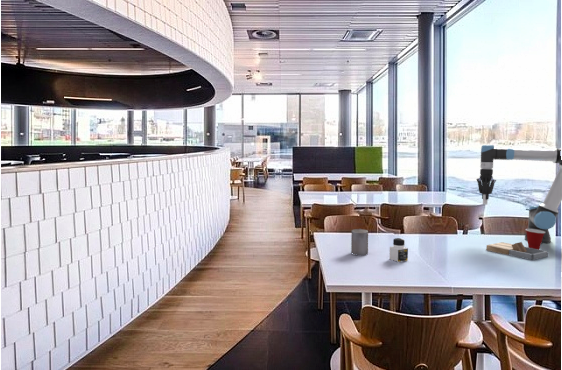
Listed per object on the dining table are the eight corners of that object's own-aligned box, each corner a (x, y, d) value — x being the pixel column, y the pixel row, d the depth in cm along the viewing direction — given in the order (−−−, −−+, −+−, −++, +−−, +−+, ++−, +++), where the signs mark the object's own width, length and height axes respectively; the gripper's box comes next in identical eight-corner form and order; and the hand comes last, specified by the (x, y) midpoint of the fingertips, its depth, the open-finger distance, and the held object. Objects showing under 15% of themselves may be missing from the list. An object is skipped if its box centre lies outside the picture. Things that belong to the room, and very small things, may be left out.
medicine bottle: (398, 262, 245) (398, 240, 244) (389, 259, 252) (389, 238, 251) (407, 260, 249) (408, 239, 248) (398, 257, 255) (399, 236, 254)
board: (502, 246, 282) (502, 242, 282) (524, 251, 270) (524, 246, 270) (486, 250, 274) (486, 245, 273) (508, 254, 262) (508, 249, 262)
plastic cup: (547, 251, 270) (548, 231, 268) (527, 250, 272) (528, 231, 271) (540, 247, 280) (541, 228, 279) (521, 246, 282) (522, 227, 281)
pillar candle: (355, 250, 271) (355, 226, 269) (370, 253, 265) (371, 228, 264) (348, 254, 263) (348, 229, 262) (363, 256, 257) (363, 230, 256)
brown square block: (517, 244, 268) (521, 242, 266) (522, 253, 266) (527, 251, 263) (511, 245, 265) (515, 243, 263) (516, 254, 262) (521, 252, 260)
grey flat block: (523, 251, 270) (523, 246, 270) (547, 256, 258) (547, 251, 258) (508, 254, 262) (509, 249, 262) (532, 260, 250) (533, 254, 250)
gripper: (474, 168, 299) (472, 203, 301) (492, 169, 288) (490, 205, 290) (481, 167, 303) (479, 202, 305) (499, 168, 292) (497, 205, 294)
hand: (485, 204), depth 297 cm, fingers closed
